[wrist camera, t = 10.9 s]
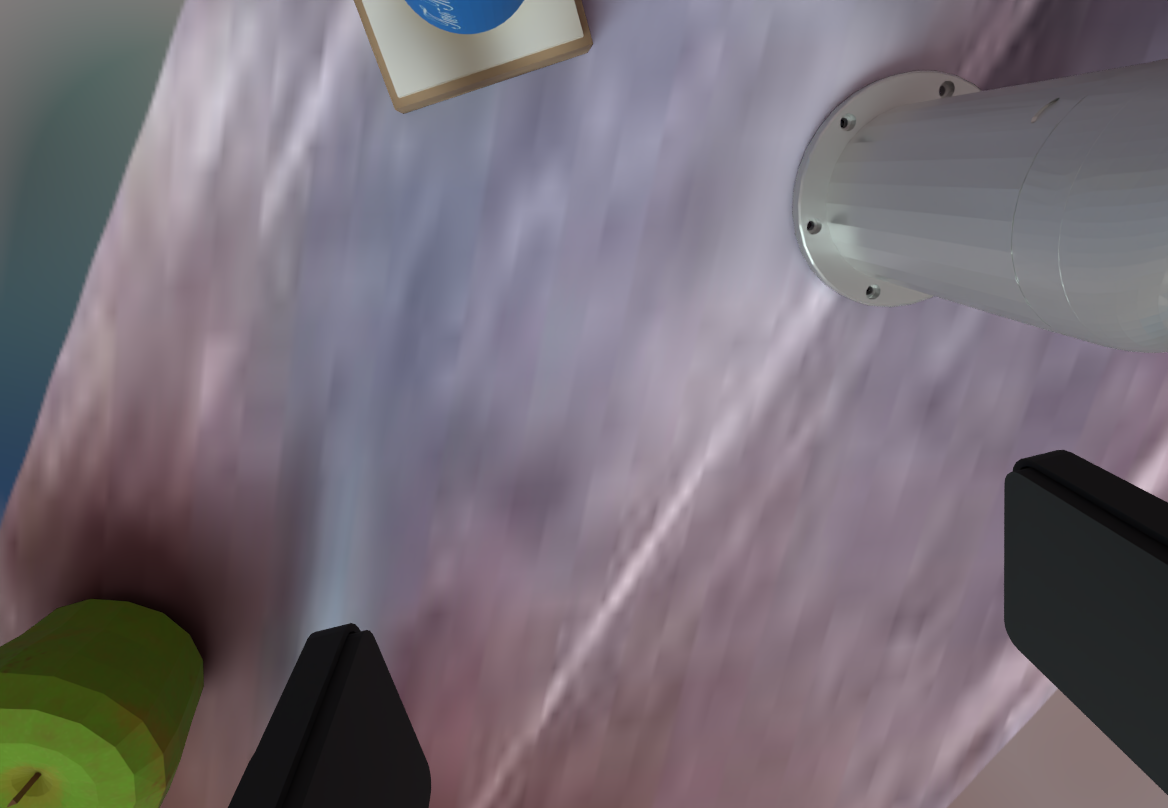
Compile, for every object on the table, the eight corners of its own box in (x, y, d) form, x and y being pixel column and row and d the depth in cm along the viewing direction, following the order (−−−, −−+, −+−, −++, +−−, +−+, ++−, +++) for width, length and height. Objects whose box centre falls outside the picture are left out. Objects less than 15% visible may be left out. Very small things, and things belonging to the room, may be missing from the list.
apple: (-12, 600, 41) (-198, 752, 30) (178, 547, 41) (59, 680, 30) (91, 746, 45) (-40, 923, 34) (263, 698, 45) (185, 860, 34)
